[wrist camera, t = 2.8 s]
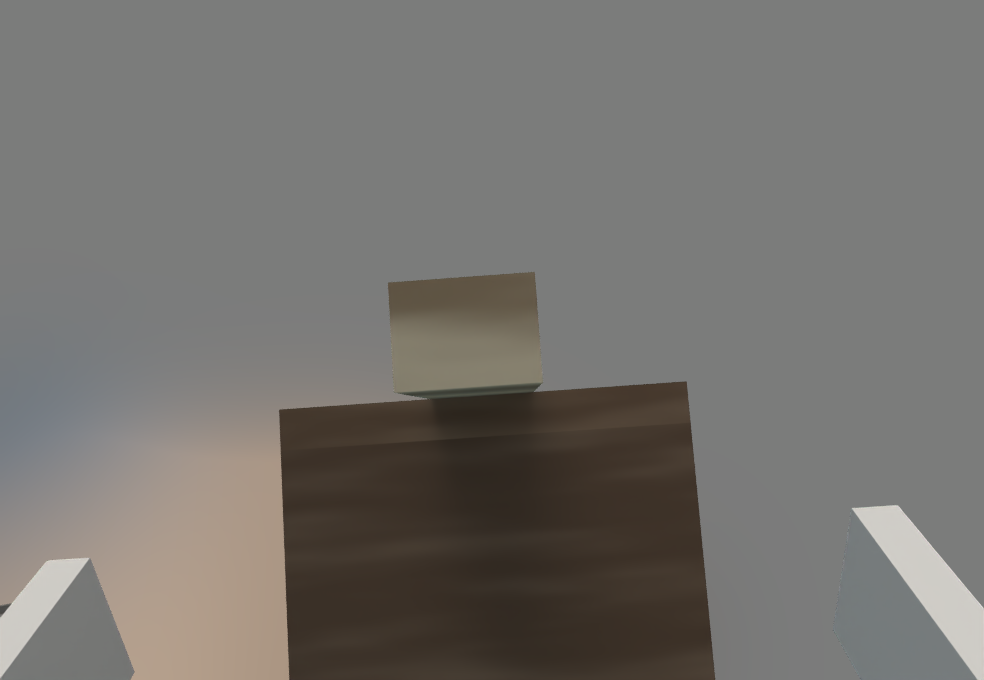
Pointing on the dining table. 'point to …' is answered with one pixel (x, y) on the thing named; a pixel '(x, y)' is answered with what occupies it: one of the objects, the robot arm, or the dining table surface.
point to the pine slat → (465, 336)
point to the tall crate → (496, 538)
